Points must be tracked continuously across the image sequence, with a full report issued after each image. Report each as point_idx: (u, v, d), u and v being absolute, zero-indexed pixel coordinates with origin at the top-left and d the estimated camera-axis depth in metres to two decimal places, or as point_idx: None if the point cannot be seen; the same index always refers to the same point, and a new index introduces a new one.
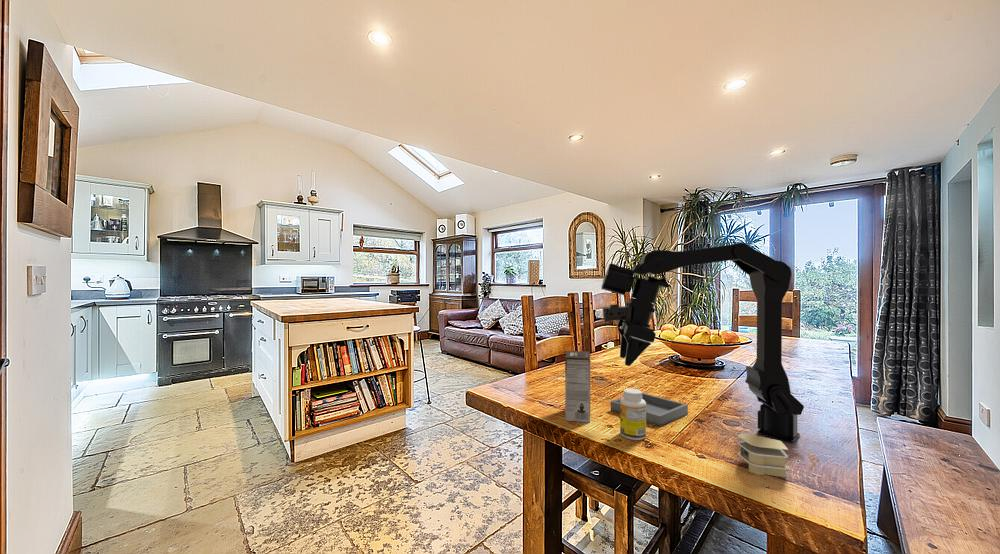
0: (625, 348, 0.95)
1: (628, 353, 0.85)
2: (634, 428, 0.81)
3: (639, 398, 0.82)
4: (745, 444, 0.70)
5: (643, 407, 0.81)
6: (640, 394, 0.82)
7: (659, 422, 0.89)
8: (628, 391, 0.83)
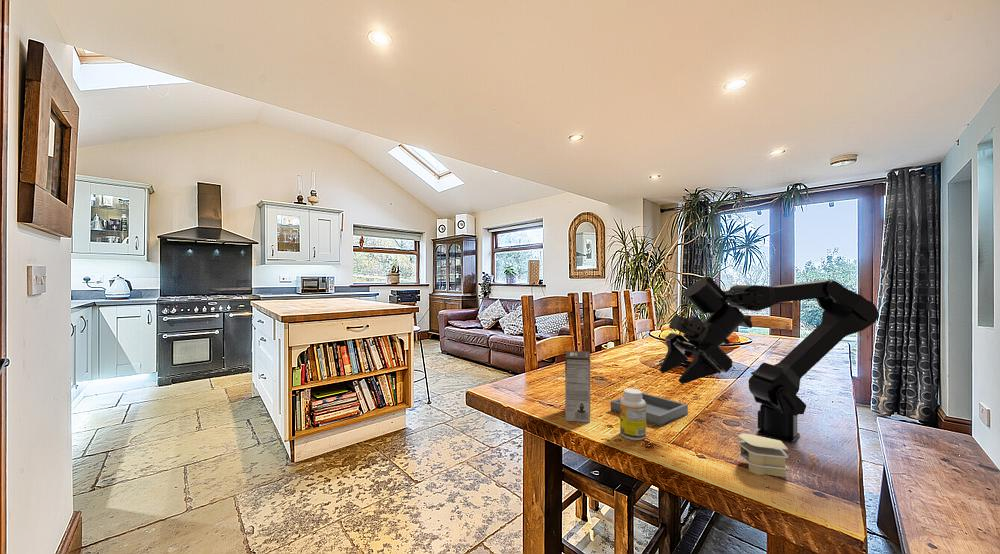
0: (668, 364, 0.88)
1: (690, 371, 0.78)
2: (634, 428, 0.81)
3: (639, 398, 0.82)
4: (745, 444, 0.70)
5: (643, 407, 0.81)
6: (640, 394, 0.82)
7: (659, 422, 0.89)
8: (628, 391, 0.83)
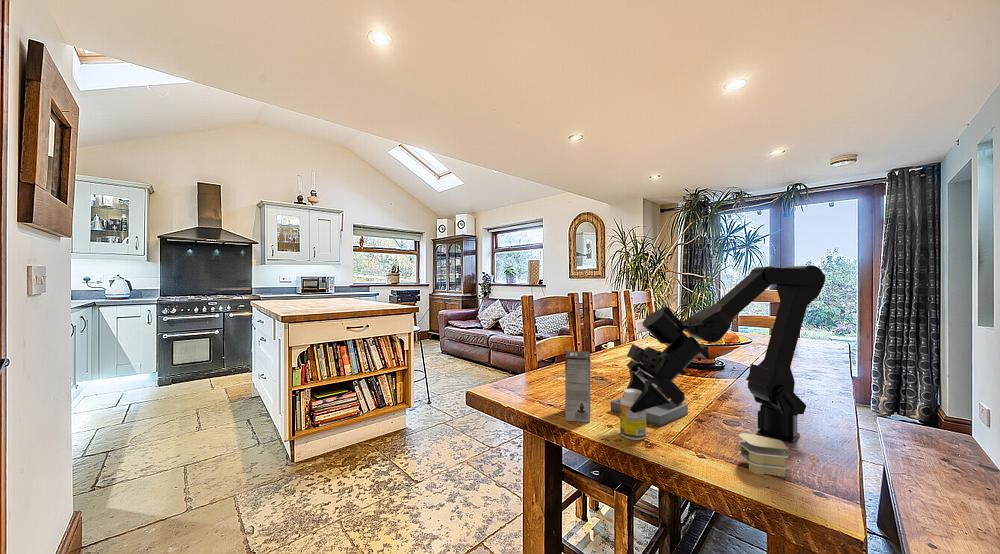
0: None
1: (640, 401, 0.79)
2: (634, 428, 0.81)
3: None
4: (745, 443, 0.71)
5: None
6: (640, 394, 0.82)
7: (659, 422, 0.89)
8: (628, 391, 0.83)
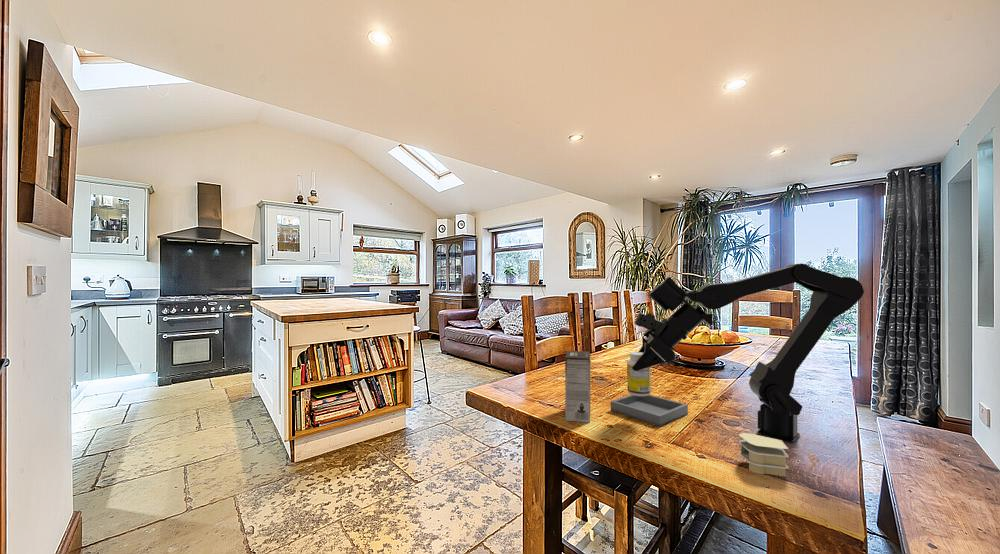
0: None
1: (640, 360, 0.89)
2: (636, 385, 0.91)
3: None
4: (746, 443, 0.71)
5: None
6: None
7: (659, 422, 0.89)
8: (634, 353, 0.93)
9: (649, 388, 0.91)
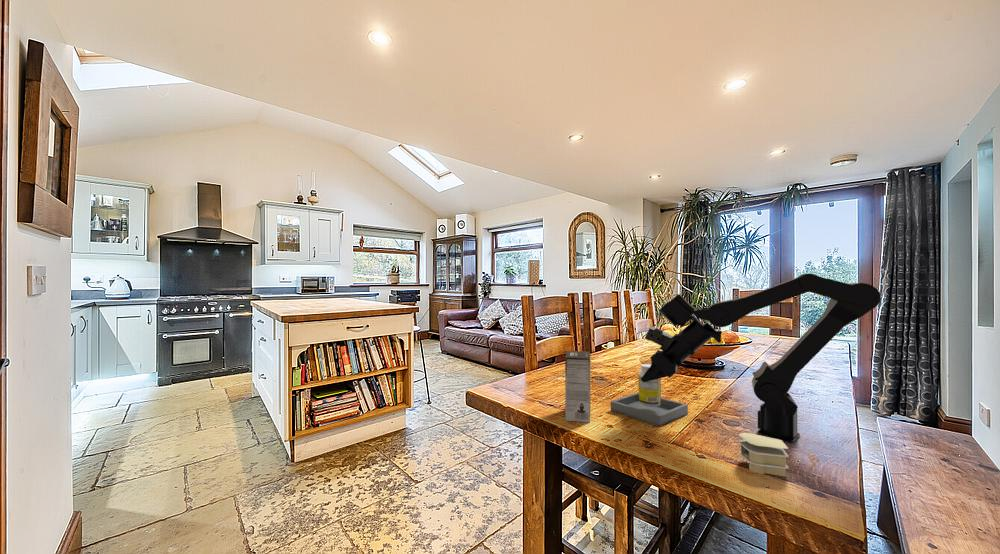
0: None
1: (647, 372, 0.95)
2: (645, 395, 0.96)
3: None
4: (746, 443, 0.71)
5: None
6: None
7: (659, 422, 0.89)
8: (645, 365, 0.99)
9: (658, 399, 0.96)
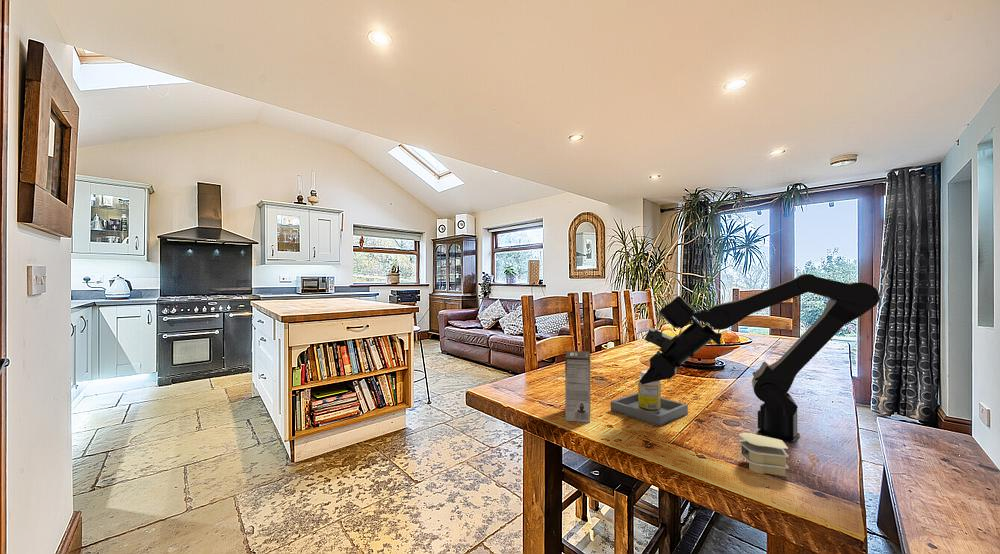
0: None
1: (646, 374, 0.94)
2: (644, 402, 0.96)
3: None
4: (746, 443, 0.71)
5: (653, 386, 0.96)
6: None
7: (659, 422, 0.89)
8: (644, 371, 0.99)
9: (658, 406, 0.96)
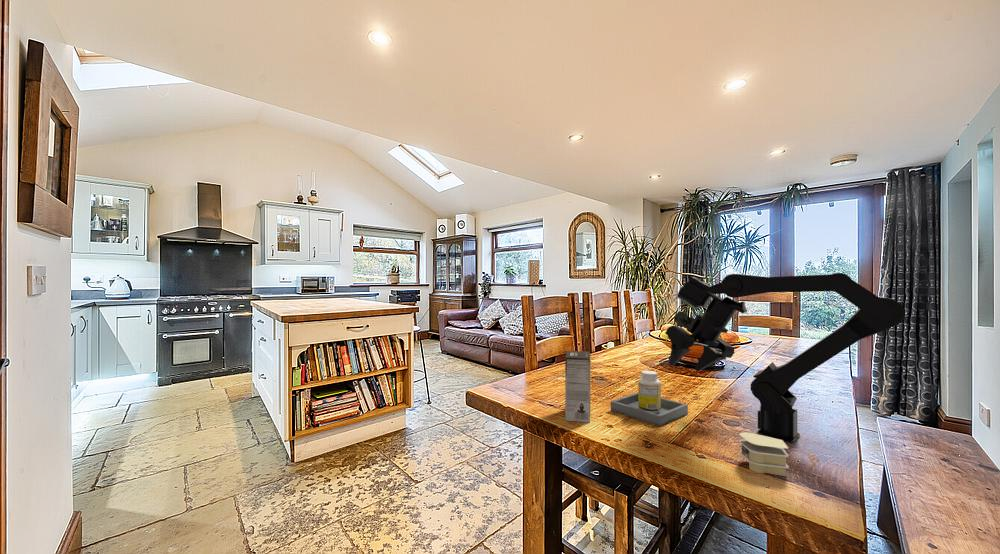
0: (701, 363, 0.99)
1: (671, 353, 0.96)
2: (645, 402, 0.96)
3: (651, 378, 0.96)
4: (746, 442, 0.71)
5: (653, 386, 0.96)
6: (652, 375, 0.96)
7: (659, 422, 0.89)
8: (645, 371, 0.99)
9: (658, 406, 0.96)
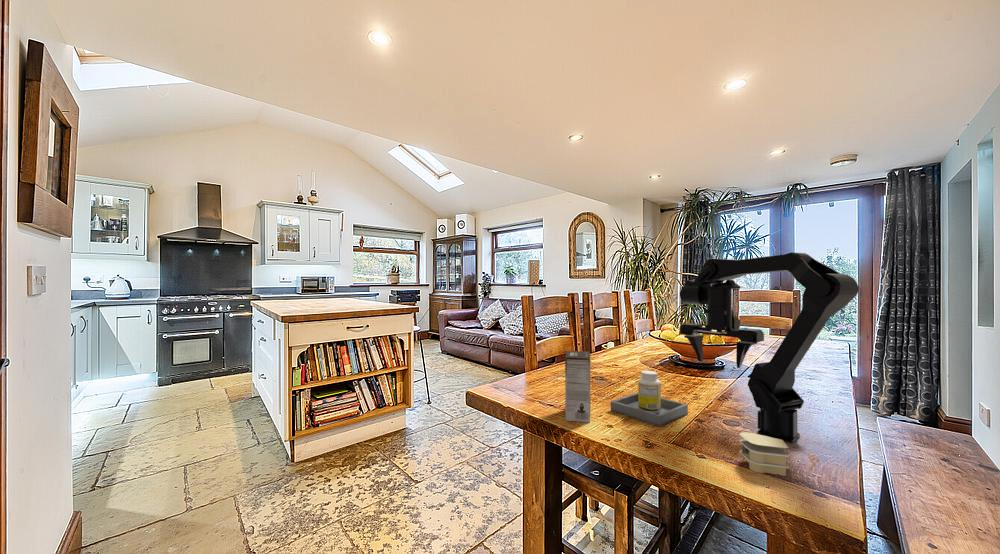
0: None
1: None
2: (645, 402, 0.96)
3: (651, 378, 0.96)
4: (746, 442, 0.71)
5: (653, 386, 0.96)
6: (652, 375, 0.97)
7: (659, 422, 0.89)
8: (645, 371, 0.99)
9: (658, 406, 0.96)
